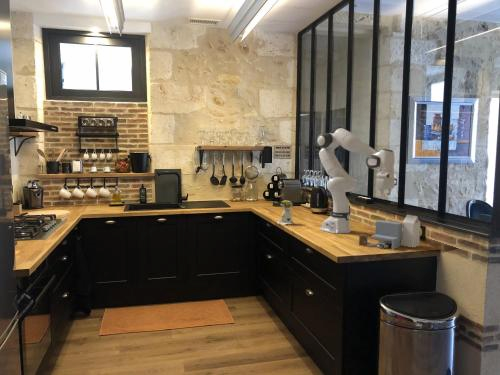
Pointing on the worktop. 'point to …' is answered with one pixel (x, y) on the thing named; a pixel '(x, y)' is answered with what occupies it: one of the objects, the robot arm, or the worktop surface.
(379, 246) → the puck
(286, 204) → the potted plant
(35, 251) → the worktop surface
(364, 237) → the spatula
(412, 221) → the milk carton
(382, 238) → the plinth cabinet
